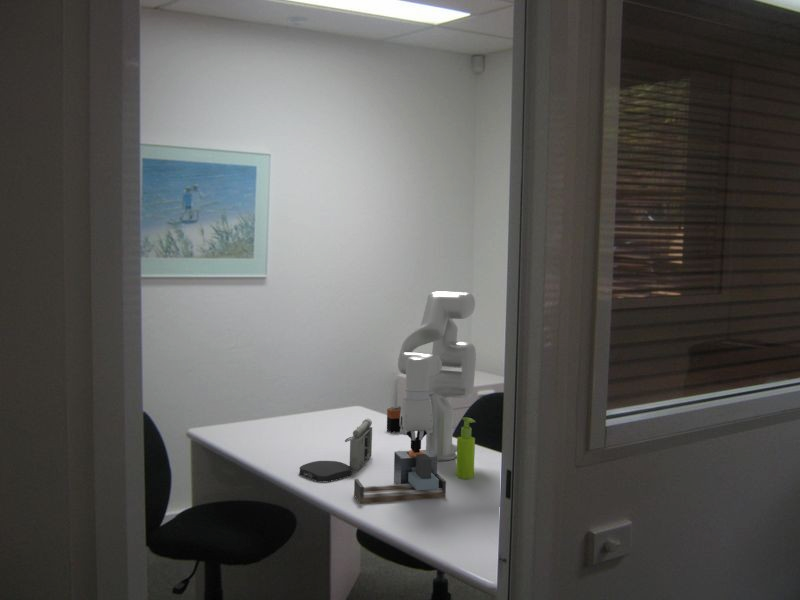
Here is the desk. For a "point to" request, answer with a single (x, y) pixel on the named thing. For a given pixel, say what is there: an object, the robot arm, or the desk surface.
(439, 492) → the rail
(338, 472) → the media streaming box
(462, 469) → the soap dispenser
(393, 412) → the battery
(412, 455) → the button
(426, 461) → the carriage
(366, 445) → the geiger counter
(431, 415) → the robot arm
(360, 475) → the desk surface
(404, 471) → the cabinet
